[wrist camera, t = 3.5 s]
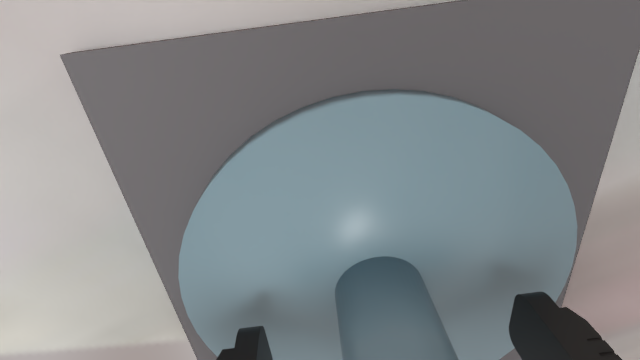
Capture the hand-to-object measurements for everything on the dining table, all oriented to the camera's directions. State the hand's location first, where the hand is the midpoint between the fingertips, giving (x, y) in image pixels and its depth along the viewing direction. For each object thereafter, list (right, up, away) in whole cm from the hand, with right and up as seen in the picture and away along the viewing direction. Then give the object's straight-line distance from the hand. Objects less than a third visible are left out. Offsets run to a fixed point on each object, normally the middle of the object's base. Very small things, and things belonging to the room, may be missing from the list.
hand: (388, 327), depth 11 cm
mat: (0, +1, +3) cm, 3 cm away
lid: (0, +1, +2) cm, 3 cm away
